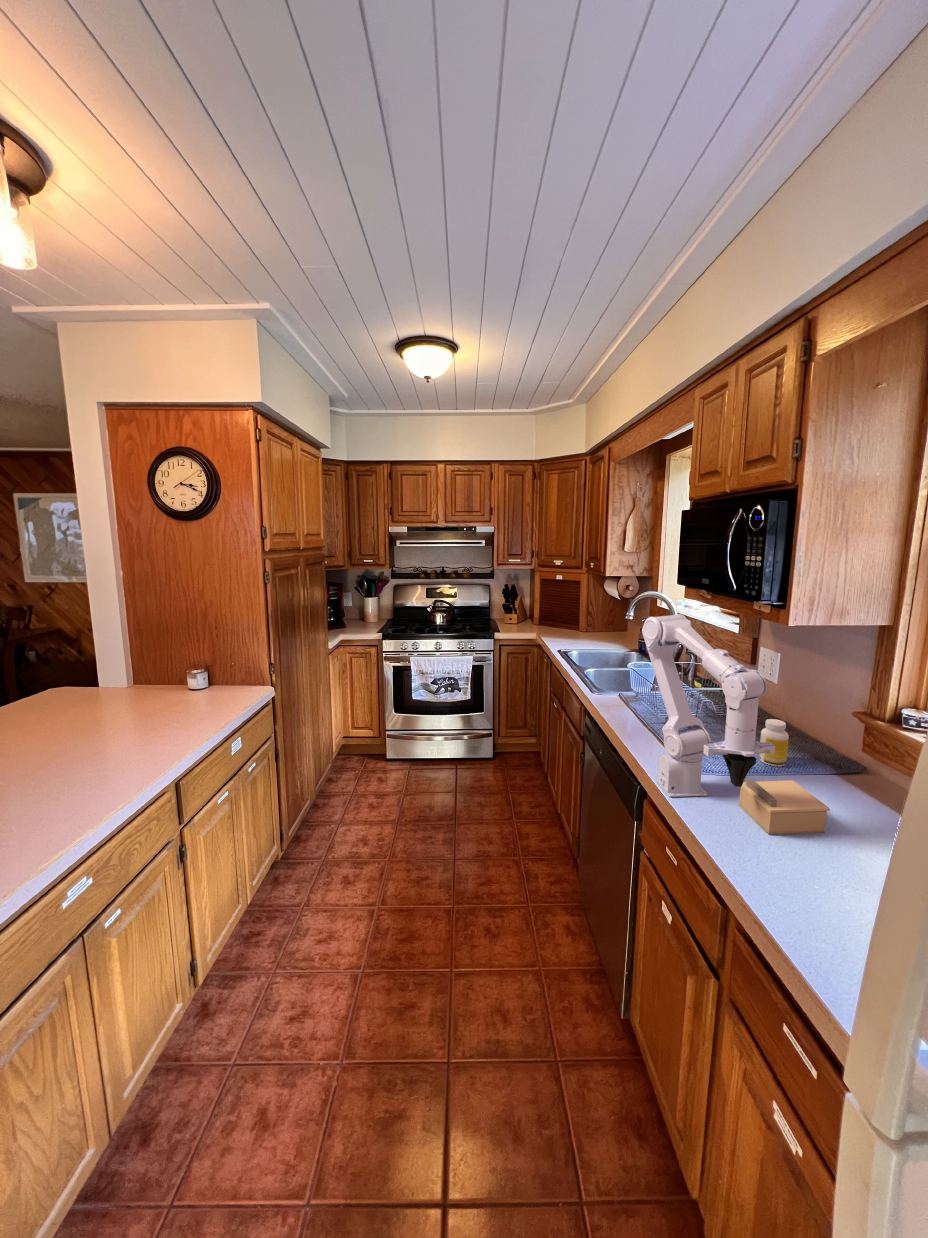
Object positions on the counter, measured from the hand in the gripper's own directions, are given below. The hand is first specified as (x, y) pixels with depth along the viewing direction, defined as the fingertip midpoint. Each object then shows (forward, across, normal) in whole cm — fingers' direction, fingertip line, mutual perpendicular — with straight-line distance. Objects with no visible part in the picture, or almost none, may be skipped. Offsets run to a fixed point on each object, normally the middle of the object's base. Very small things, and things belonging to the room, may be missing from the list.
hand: (736, 784), depth 108 cm
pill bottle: (+9, +26, +26) cm, 38 cm away
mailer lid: (+3, +11, 0) cm, 11 cm away
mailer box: (+9, +10, 0) cm, 14 cm away
